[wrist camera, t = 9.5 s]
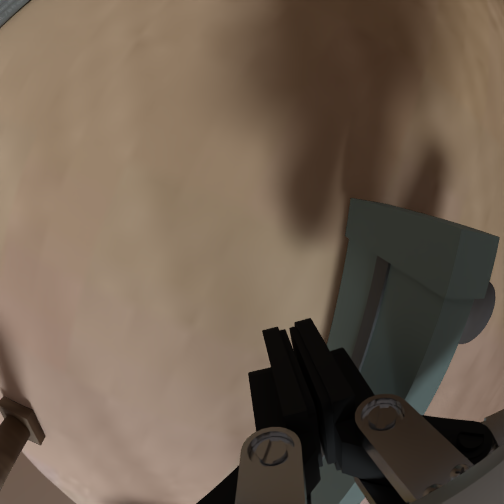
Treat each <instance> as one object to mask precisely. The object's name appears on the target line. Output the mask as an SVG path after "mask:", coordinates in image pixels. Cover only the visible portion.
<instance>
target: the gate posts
mask: <svg viewBox="0 0 504 504" xmlns="http://www.w3.org/2000/svg"><path fill="white" fill-rule="evenodd" d="M494 305H495V290H494V287H493V285H492V284H491V283H490V282H489V284H488V288H487V291H486V295H485V298H484V299H474V302H473V305H472V308H471V311H470V314H469V317H468V319H467V322H466V325H465V328H464V330H463V333H462V336H461V338H460V341H459V343H458V344H464V343H468V342H470V341H471V340H473V339H474V338H475V337H477V336H478V335H479V334H480V333H481V331H482V330H483V329H484V328H485V326H486V325H487V323H488V321H489V319H490V317H491V315H492V312H493V309H494ZM0 411H1V413H2V415H3V417H4V420H3V422H2V423H1V425H0V490H1V488H2V486H3V484H4V482H5V480H6V478H7V476H8V474H9V472H10V471H11V469H12V467H13V465H14V463H15V461H16V460H17V458H18V456H19V454H20V452H21V451H22V449H23V447H24V445H25V444H26V442H27V440H30V441H32V442H34V443H36V444H38V445H41V444H42V442H43V440H44V438H45V435H44V433H43V431H42V429H41V427H40V425H39V423H38V420H37V418H36V416H35V414H34V412H33V410H31V409H29V408H27V407H24V406H22V405H20V404H18V403H16V402H14V401H12V400H9V399H7V398H5V397H2V399H1V400H0Z"/></svg>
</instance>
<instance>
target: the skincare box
mask: <svg viewBox="0 0 504 504" xmlns="http://www.w3.org/2000/svg"><path fill="white" fill-rule="evenodd" d="M28 1H29V0H0V27H1V26H2V25H3V24H4V23H5V22H6V21H7V20H8V19H9V18H10V17H12V16H13V15H14V14H15V13H16V12H17V11H18V10H19V9H20V8H21V7H22V6H24V5H25V4H26V3H27V2H28Z"/></svg>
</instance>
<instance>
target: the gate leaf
mask: <svg viewBox="0 0 504 504" xmlns="http://www.w3.org/2000/svg"><path fill="white" fill-rule="evenodd" d="M345 236H346V237H347V238H349V242H348V248H347V254H346V259H345V265H344V270H343V275H342V280H341V285H340V290H339V295H338V299H337V304H336V309H335V313H334V317H333V322H332V326H331V330H330V334H329V338H328V342H327V347H328V349H329V350H330V351H332V350H335V349H338V348H341V347H342V348H344V349H345V350H346V352H347V353H348V355H349V356H350V358H351V359H352V361H353V362H354V364H355V365H356V367H357V368H358V370H359V371H360V373H361V375H362V376H363V378H364V379H365V381H366V382H367V384H368V385H369V387H370V388H371V390H372V391H373V393H374V394H375V395H379V394H393V395H397V396H400V397H401V398H403V399H404V400H406V401H407V402H408V403H409V404H410V405H411V406H412V407H413V408H414V409H415V410H416V411H417V412H418V413H419V414H420V415H424V413H425V411H426V410H427V408H428V406H429V404H430V402H431V401H432V399H433V397H434V395H435V393H436V391H437V389H438V387H439V385H440V383H441V381H442V379H443V377H444V375H445V373H446V371H447V369H448V366H449V364H450V362H451V360H452V357H453V355H454V353H455V350H456V348H457V346H458V343H459V341H460V338H461V336H462V333H463V330H464V328H465V325H466V322H467V319H468V317H469V314H470V311H471V308H472V305H473V302H474V299H484V298H485V295H486V291H487V288H488V284H489V281H490V277H491V273H492V269H493V266H494V261H495V257H496V253H497V248H498V243H499V238H500V237H498V236H495V235H492V234H489V233H486V232H483V231H480V230H477V229H474V228H470V227H467V226H464V225H461V224H458V223H454V222H451V221H448V220H444V219H441V218H437V217H434V216H430V215H427V214H423V213H419V212H416V211H412V210H408V209H404V208H400V207H396V206H392V205H388V204H384V203H379V202H373V201H367V200H361V199H354V198H351V199H350V207H349V214H348V221H347V227H346V234H345ZM321 453H322V461H323V466H322V467H319V469H320V477H321V480H320V482H319V483H318V484H317V486H316V487H315V488H314V489H313V491H312V492H311V494H312V504H360V502H361V501H362V500H363V499H364V498H365V496H364V494H363V493H362V492H361V490H360V489H359V487H358V486H357V484H356V483H355V481H354V478H353V476H350V475H347V474H343V473H342V471H341V470H338V471H337V470H336V467H335V465H334V463H332V464H329V465H328V464H327V462H326V459H325V456H324V453H323V450H322V448H321Z"/></svg>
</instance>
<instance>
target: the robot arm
mask: <svg viewBox="0 0 504 504" xmlns="http://www.w3.org/2000/svg"><path fill="white" fill-rule="evenodd" d="M262 332H263V336H264V340H265V344H266V348H267V352H268V356H269V360H270V364H271V367H270V368H266V369H262V370H257V371H253V372H249V373H248V375H249V383H250V390H251V397H252V404H253V411H254V418H255V425H256V432H255V433H253V434H252V435H251V436H249V437H248V438H247V439H246V441H245V442H244V443H243V446H242V449H241V454H240V463H239V466H238V467H237V468H236V469H235V470H234V471H233V472H232V473H231V474H229V475H228V476H227V477H226V478H225V479H224V480H223V481H222V482H221V483H220V484H219V485H217V486H216V487H215V488H214V489H213V490H212V491H211V492H209V493H208V494H207V495H206V496H205V497H204V498H202V499H201V500H200V501H199V502H198V503H196V504H312V494H311V492H312V491H313V489H314V488H315V487H316V486H317V484H318V483H319V482H320V480H321V477H320V469H319V467H322V466H323V461H322V453H321V448H322V450H323V453H324V456H325V459H326V462H327V464H328V465H329V464H332V463H334V465H335V467H336V470H337V471H338V470H341V471H342V473H343V474H347V475H350V476H353V478H354V481H355V483H356V484H357V486H358V487H359V489H360V490H361V492H362V493H363V494H364V496H365V497H366V499H367V500H368V502H369V503H370V504H504V409H503V410H501V411H499V412H497V413H494V414H492V415H490V416H488V417H486V418H485V419H484V421H483V422H481V423H480V422H475V421H466V420H456V419H447V418H439V417H431V416H425V415H420V414H419V413H418V412H417V411H416V410H415V409H414V408H413V407H412V406H411V405H410V404H409V403H408V402H407V401H406V400H404V399H403V398H401V397H400V396H397V395H393V394H379V395H375V394H374V393H373V391H372V390H371V388H370V387H369V385H368V384H367V382H366V381H365V379H364V378H363V376H362V375H361V373H360V371H359V370H358V368H357V367H356V365H355V364H354V362H353V361H352V359H351V358H350V356H349V355H348V353H347V352H346V350H345V349H344V348H342V347H341V348H338V349H335V350H332V351H330V350H329V349H328V347H327V345H326V343H325V342H324V340H323V338H322V337H321V335H320V333H319V331H318V330H317V328H316V326H315V325H314V323H313V321H312V320H311V318H309V319H305V320H301V321H298V322H295V327H291V328H290V335H291V340H292V345H293V348H292V345H291V343H290V340H289V338H288V335H287V333H286V330H285V329H284V330H280V331H279V328H278V327H274V328H270V329H266V330H262ZM293 350H294V351H293Z"/></svg>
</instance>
